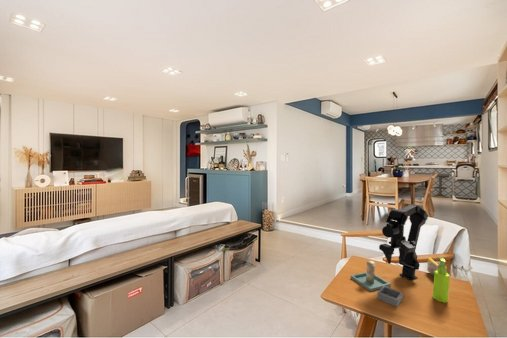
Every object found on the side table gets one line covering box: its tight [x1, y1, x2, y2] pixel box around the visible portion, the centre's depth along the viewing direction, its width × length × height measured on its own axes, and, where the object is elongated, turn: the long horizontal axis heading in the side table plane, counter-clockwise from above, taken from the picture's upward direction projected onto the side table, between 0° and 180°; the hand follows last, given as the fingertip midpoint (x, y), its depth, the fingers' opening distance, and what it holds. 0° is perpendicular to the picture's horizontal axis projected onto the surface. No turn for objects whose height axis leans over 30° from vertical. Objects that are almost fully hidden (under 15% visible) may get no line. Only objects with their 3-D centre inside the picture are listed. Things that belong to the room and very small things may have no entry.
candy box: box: [426, 257, 439, 277], centre depth 138 cm, size 16×2×8 cm, turn 168°
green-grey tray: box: [350, 271, 392, 292], centre depth 131 cm, size 14×14×2 cm
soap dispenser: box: [432, 256, 451, 303], centre depth 117 cm, size 6×7×20 cm
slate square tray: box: [376, 286, 404, 308], centre depth 116 cm, size 9×9×4 cm
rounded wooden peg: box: [365, 260, 376, 284], centre depth 131 cm, size 4×4×11 cm
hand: (395, 262), depth 128 cm, fingers open, 9 cm apart
